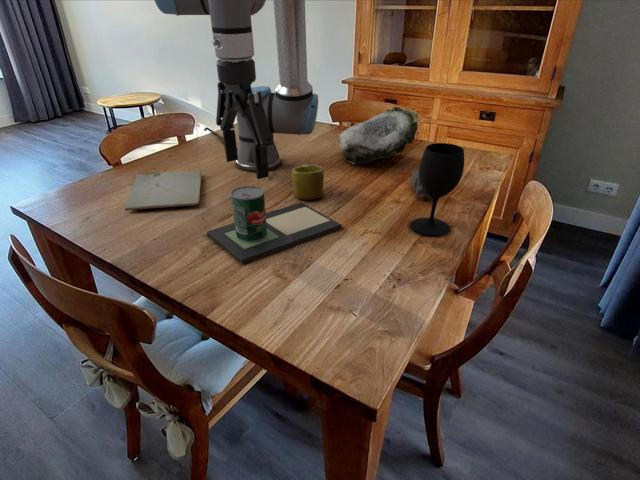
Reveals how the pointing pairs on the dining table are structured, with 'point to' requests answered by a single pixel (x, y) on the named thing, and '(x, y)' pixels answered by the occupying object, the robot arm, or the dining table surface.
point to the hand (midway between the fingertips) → (247, 168)
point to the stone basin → (379, 136)
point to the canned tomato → (249, 213)
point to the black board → (276, 232)
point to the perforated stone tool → (418, 186)
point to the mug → (308, 182)
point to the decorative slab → (164, 190)
